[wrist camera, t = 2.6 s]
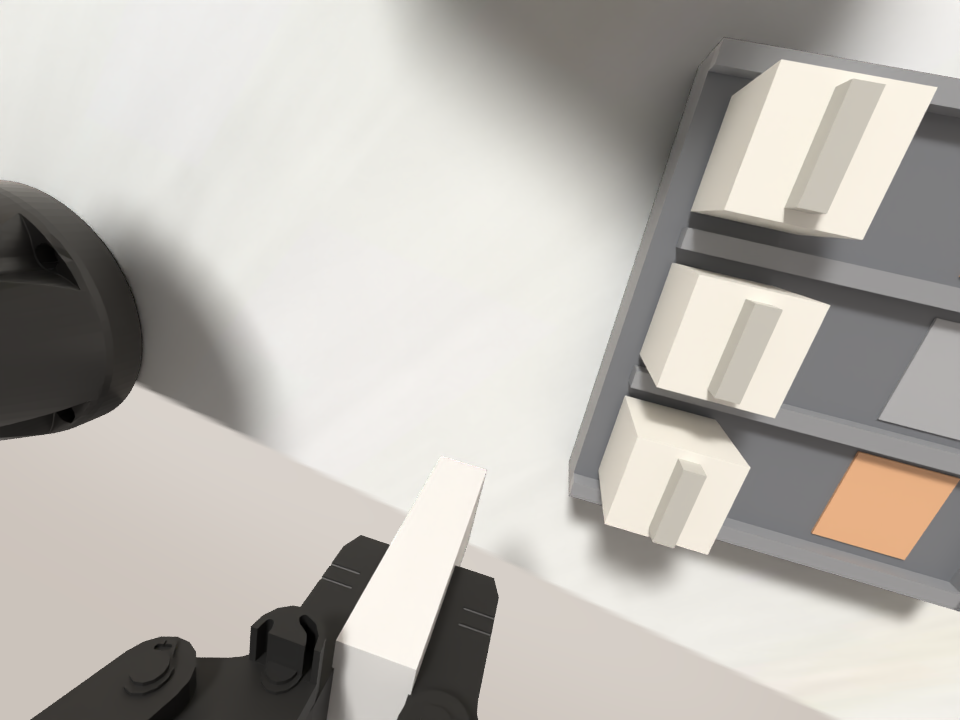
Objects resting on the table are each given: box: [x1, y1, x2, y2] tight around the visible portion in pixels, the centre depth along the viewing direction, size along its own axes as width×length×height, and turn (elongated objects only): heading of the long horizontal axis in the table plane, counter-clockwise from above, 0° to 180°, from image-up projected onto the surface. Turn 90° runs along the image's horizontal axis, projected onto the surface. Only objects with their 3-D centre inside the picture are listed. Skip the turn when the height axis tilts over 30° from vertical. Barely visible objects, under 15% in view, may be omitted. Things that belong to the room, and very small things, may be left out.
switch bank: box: [569, 37, 960, 611], centre depth 19 cm, size 18×19×3 cm
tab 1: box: [691, 59, 938, 240], centre depth 14 cm, size 4×4×5 cm
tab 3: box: [598, 396, 750, 555], centre depth 18 cm, size 4×4×5 cm
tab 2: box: [640, 263, 830, 418], centre depth 16 cm, size 4×4×5 cm
